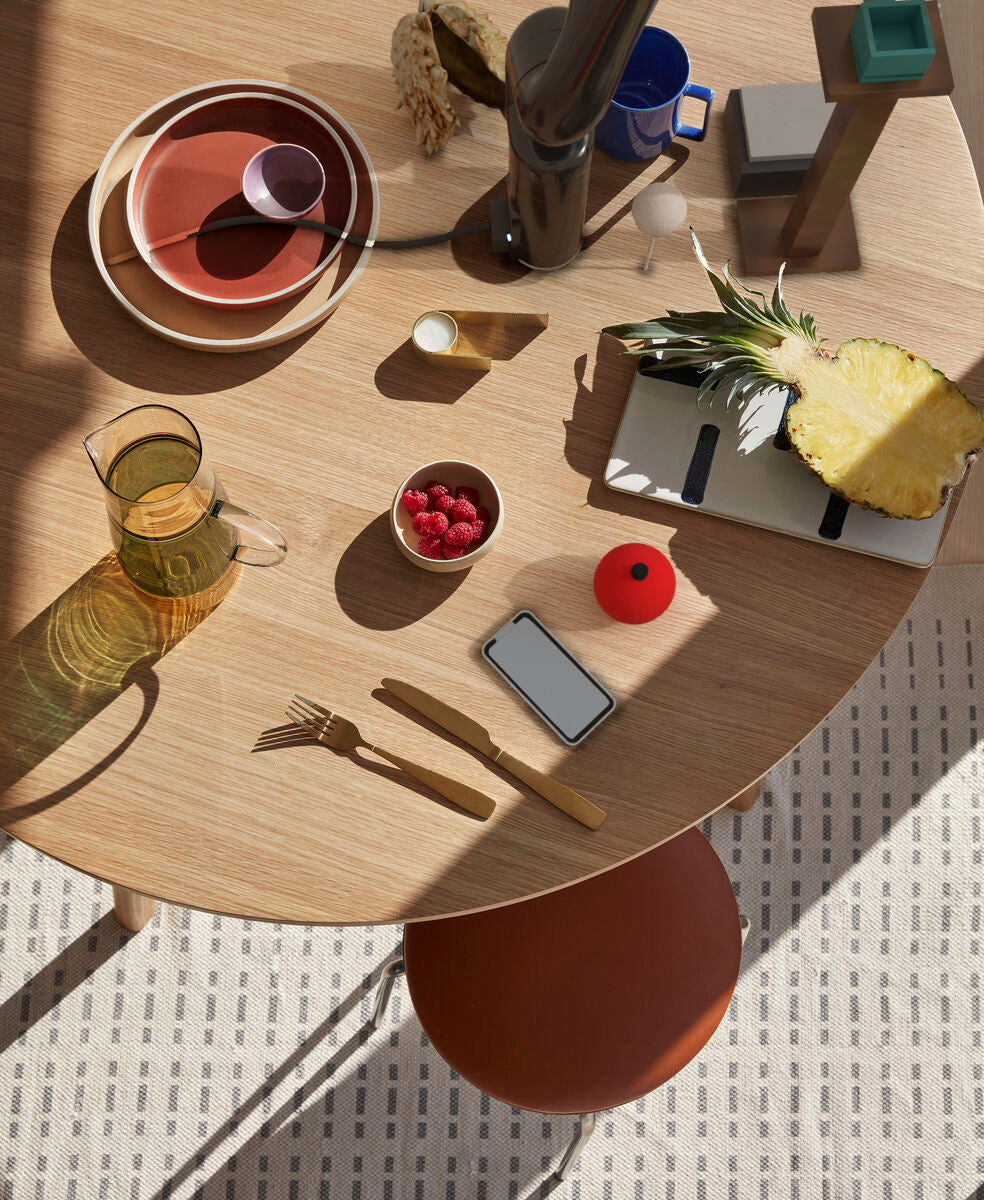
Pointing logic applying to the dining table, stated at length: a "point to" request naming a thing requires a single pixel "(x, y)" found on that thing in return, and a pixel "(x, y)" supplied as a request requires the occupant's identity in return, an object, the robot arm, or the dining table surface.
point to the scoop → (892, 40)
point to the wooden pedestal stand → (833, 157)
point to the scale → (773, 136)
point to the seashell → (446, 65)
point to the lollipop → (658, 212)
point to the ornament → (634, 583)
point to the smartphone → (548, 677)
